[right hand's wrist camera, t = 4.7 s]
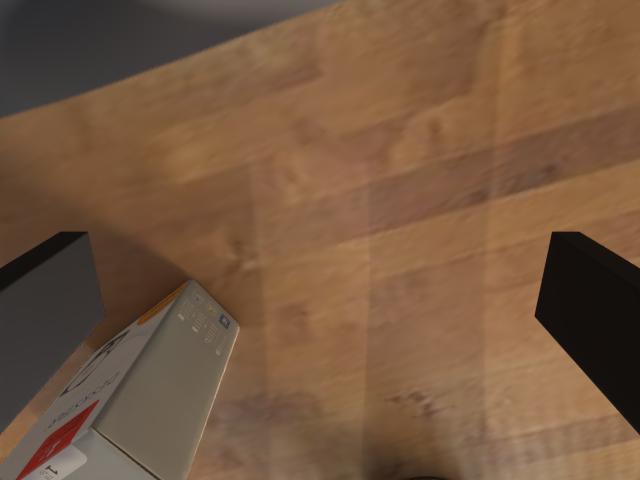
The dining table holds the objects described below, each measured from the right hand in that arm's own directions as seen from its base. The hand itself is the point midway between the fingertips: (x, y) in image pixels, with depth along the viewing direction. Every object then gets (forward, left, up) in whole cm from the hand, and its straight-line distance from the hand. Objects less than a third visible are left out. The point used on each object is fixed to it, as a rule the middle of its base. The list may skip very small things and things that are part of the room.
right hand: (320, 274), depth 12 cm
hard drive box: (-21, +17, -28) cm, 39 cm away
